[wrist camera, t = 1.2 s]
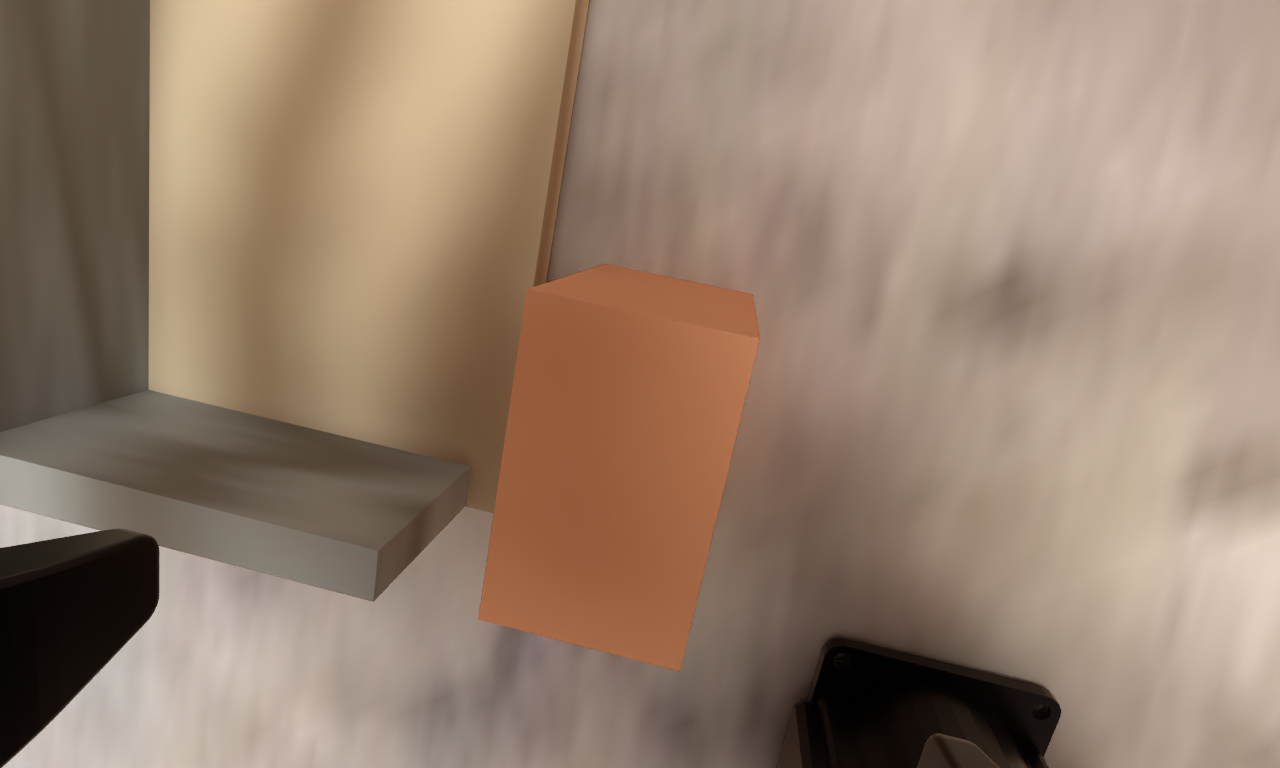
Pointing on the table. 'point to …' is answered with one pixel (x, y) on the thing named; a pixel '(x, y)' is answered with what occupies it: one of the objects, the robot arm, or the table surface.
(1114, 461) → the table surface
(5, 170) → the corner board
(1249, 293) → the table surface
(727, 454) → the block
